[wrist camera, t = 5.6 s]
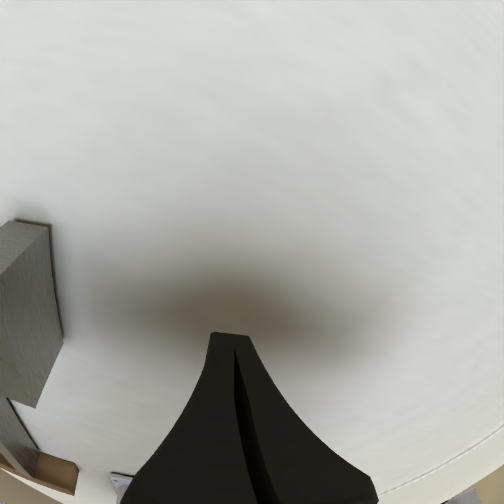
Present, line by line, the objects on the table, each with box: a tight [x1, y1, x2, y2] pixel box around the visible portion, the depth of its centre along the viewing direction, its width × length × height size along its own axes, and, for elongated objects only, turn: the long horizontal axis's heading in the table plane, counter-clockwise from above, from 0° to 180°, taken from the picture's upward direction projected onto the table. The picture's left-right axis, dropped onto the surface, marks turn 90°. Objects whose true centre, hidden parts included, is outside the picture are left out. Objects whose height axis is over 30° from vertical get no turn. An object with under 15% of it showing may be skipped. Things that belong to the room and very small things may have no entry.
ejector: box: [0, 220, 63, 479], centre depth 12 cm, size 23×8×4 cm, turn 167°
